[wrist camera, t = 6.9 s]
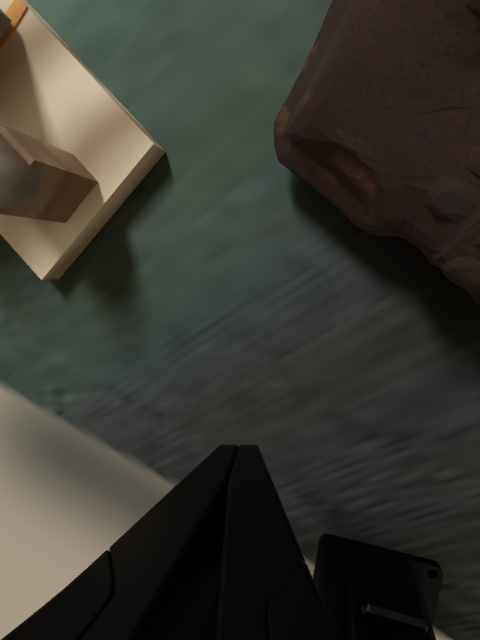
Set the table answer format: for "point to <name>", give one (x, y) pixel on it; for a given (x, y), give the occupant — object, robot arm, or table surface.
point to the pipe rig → (60, 146)
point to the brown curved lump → (395, 125)
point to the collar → (3, 22)
